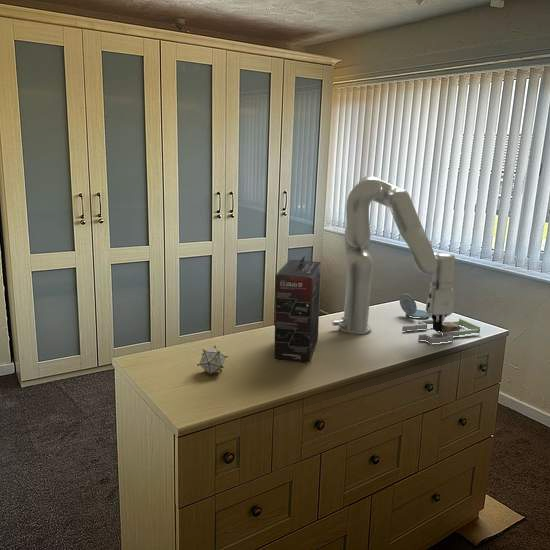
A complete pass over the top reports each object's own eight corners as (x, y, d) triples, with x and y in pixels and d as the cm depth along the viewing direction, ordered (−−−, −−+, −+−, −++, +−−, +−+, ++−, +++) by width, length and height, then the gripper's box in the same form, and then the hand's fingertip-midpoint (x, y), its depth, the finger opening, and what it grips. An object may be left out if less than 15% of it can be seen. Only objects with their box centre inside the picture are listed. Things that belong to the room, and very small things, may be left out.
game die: (211, 381, 161) (216, 350, 165) (229, 379, 156) (234, 347, 160) (189, 373, 156) (195, 342, 160) (207, 372, 150) (213, 339, 154)
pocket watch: (398, 291, 223) (422, 287, 231) (396, 315, 225) (420, 311, 233) (415, 296, 215) (440, 293, 222) (412, 321, 217) (437, 317, 225)
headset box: (309, 364, 168) (314, 265, 160) (271, 360, 170) (275, 262, 163) (318, 339, 191) (323, 252, 184) (285, 336, 194) (288, 250, 186)
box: (426, 345, 189) (427, 336, 188) (396, 328, 207) (396, 320, 206) (486, 339, 198) (488, 330, 198) (453, 323, 216) (454, 315, 216)
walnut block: (445, 337, 200) (447, 327, 199) (436, 332, 205) (437, 322, 204) (459, 336, 201) (460, 326, 200) (449, 331, 207) (450, 321, 206)
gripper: (431, 288, 192) (426, 335, 196) (464, 286, 197) (458, 331, 201) (419, 283, 199) (415, 328, 203) (451, 281, 204) (446, 325, 208)
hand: (436, 330), depth 202 cm, fingers closed
